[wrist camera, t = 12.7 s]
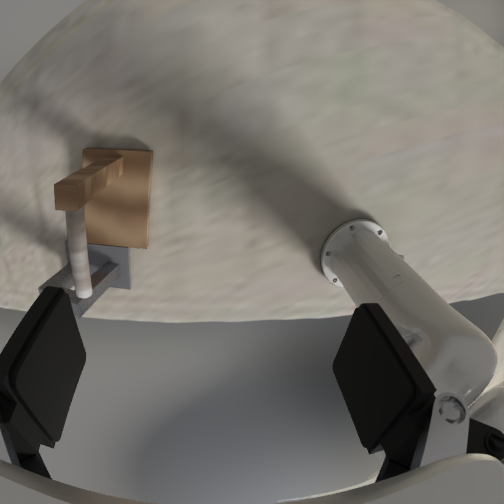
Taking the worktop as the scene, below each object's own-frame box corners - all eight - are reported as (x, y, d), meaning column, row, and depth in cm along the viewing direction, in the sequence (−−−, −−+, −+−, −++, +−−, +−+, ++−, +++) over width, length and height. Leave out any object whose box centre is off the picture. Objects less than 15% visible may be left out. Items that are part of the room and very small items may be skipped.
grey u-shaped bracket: (119, 264, 41) (76, 304, 31) (120, 276, 42) (79, 318, 32) (82, 253, 42) (38, 288, 31) (83, 265, 42) (41, 301, 32)
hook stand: (86, 148, 34) (22, 175, 20) (153, 150, 35) (115, 177, 21) (87, 239, 40) (42, 300, 26) (148, 245, 42) (121, 313, 28)
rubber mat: (129, 246, 41) (128, 247, 41) (130, 287, 45) (130, 289, 44) (66, 239, 39) (65, 241, 39) (72, 279, 42) (71, 281, 42)
